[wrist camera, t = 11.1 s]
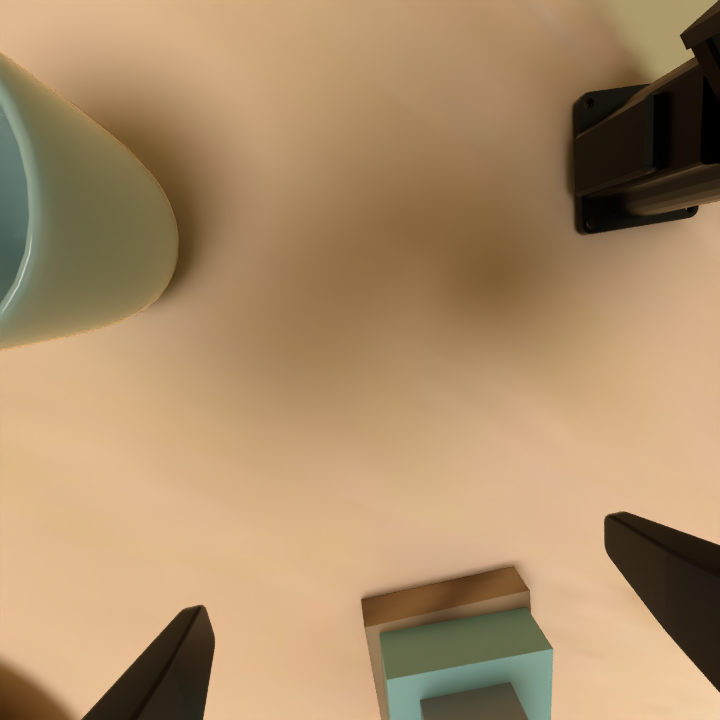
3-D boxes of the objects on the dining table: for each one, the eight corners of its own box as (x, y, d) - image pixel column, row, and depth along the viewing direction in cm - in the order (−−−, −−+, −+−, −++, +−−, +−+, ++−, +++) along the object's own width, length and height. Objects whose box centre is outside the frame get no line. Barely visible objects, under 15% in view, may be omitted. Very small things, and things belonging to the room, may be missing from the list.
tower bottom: (508, 558, 23) (529, 590, 21) (515, 674, 26) (536, 715, 23) (360, 591, 23) (364, 627, 20) (380, 707, 25) (387, 752, 23)
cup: (212, 173, 16) (52, 9, 7) (192, 336, 18) (37, 396, 8) (27, 128, 15) (-484, -146, 6) (22, 305, 17) (-395, 332, 7)
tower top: (526, 607, 21) (553, 648, 19) (525, 720, 23) (549, 771, 21) (379, 633, 21) (386, 679, 18) (390, 747, 22) (398, 804, 20)
